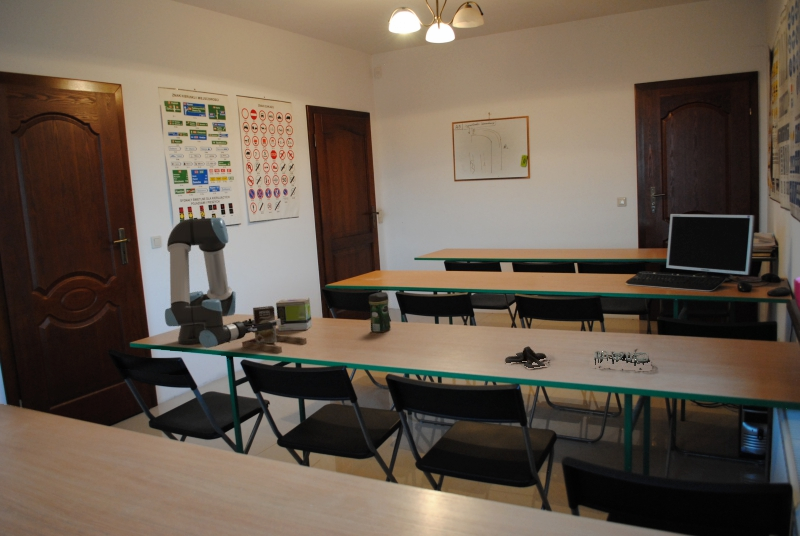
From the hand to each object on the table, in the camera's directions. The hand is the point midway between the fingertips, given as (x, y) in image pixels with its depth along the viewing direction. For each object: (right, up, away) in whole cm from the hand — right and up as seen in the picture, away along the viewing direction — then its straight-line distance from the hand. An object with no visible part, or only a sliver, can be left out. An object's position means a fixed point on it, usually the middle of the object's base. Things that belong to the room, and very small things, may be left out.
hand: (271, 320), depth 269 cm
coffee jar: (+50, -6, +12) cm, 52 cm away
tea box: (+6, -7, +27) cm, 29 cm away
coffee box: (-2, -10, -2) cm, 10 cm away
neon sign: (+141, -10, -53) cm, 151 cm away
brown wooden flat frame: (+3, -11, -5) cm, 12 cm away
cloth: (+109, -11, -49) cm, 120 cm away
